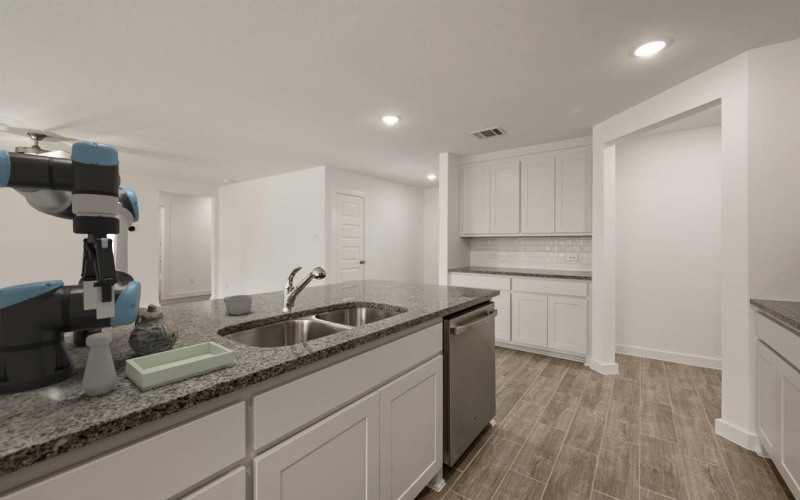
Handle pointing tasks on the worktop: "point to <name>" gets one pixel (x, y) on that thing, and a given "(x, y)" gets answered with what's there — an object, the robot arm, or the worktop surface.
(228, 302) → the teacup
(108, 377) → the salt shaker
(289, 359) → the worktop surface
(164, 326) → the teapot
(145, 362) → the tray
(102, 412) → the worktop surface
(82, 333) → the supplement bottle
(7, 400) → the worktop surface
